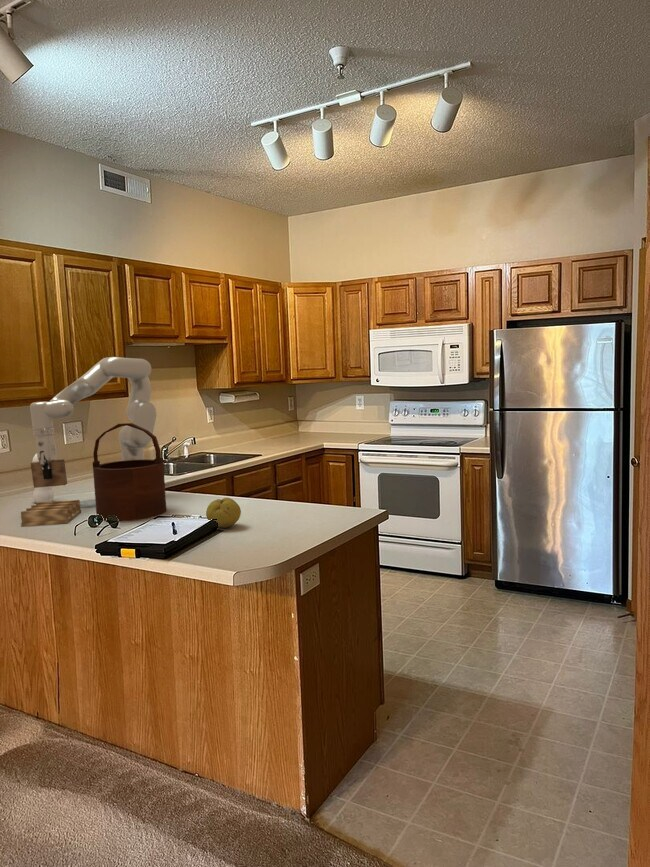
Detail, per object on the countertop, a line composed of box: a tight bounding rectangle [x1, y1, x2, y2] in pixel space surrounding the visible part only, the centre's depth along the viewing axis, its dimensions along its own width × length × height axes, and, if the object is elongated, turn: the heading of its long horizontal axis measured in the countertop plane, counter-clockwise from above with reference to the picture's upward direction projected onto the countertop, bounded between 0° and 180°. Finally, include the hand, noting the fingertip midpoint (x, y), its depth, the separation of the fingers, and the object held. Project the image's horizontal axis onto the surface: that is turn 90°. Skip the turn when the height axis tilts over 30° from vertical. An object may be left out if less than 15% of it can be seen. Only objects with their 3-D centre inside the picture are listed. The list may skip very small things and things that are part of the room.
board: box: [30, 459, 68, 489], centre depth 246 cm, size 12×3×10 cm, turn 96°
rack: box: [20, 499, 82, 527], centre depth 231 cm, size 16×18×5 cm
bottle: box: [31, 452, 54, 504], centre depth 265 cm, size 8×8×30 cm
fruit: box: [205, 497, 242, 529], centre depth 209 cm, size 11×12×10 cm
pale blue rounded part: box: [80, 498, 96, 509], centre depth 256 cm, size 12×12×1 cm
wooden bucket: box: [92, 422, 167, 522], centre depth 235 cm, size 26×26×35 cm
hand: (49, 477), depth 246 cm, fingers closed on board, 3 cm apart
